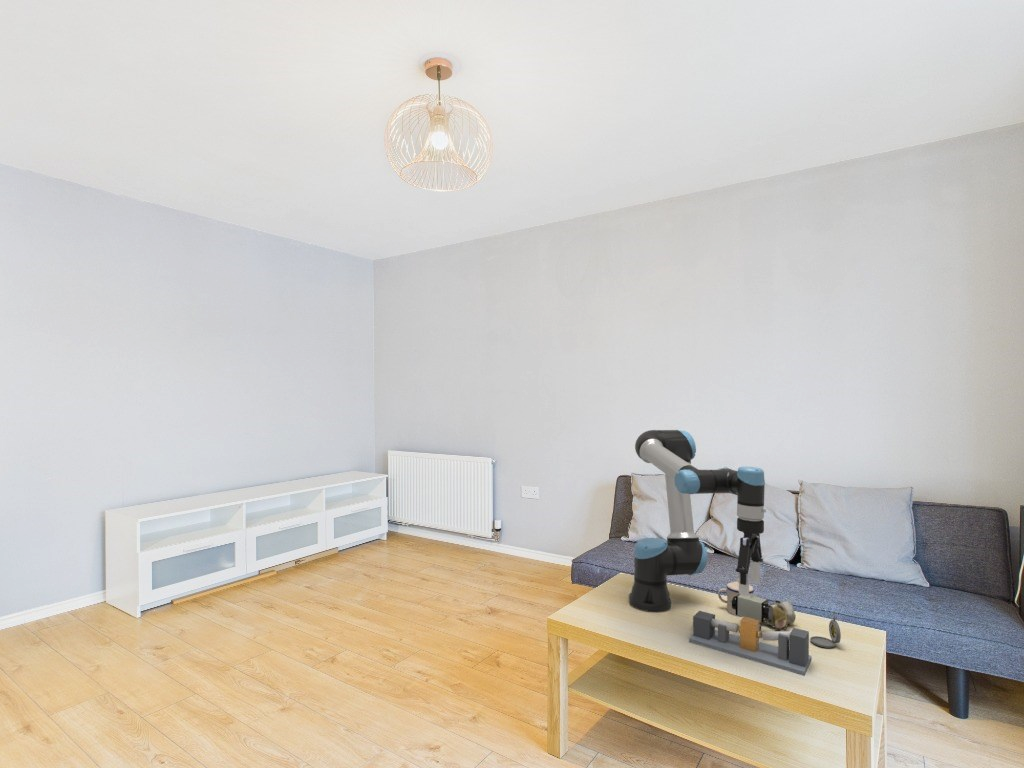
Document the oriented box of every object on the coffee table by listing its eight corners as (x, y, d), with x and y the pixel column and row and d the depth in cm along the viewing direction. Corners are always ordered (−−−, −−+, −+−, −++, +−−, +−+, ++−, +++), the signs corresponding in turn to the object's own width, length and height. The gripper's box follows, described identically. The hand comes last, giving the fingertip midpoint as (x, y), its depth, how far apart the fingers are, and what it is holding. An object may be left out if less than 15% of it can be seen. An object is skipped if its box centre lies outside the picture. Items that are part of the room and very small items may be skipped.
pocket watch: (805, 641, 170) (805, 609, 170) (823, 637, 173) (823, 605, 173) (829, 652, 162) (829, 619, 162) (848, 648, 165) (848, 615, 166)
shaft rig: (688, 641, 167) (689, 612, 168) (701, 629, 177) (701, 601, 177) (804, 675, 148) (804, 642, 148) (811, 659, 158) (811, 628, 158)
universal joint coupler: (761, 647, 162) (761, 620, 163) (758, 652, 159) (758, 625, 159) (741, 642, 166) (741, 615, 166) (737, 647, 162) (737, 620, 163)
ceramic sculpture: (804, 600, 181) (778, 611, 173) (805, 626, 181) (779, 638, 173) (774, 591, 190) (748, 601, 182) (775, 615, 190) (749, 626, 182)
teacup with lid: (754, 610, 194) (755, 578, 194) (752, 619, 186) (753, 585, 186) (719, 603, 200) (720, 572, 200) (716, 612, 192) (716, 579, 192)
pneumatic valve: (767, 639, 170) (768, 601, 171) (731, 627, 179) (731, 591, 179) (774, 634, 174) (774, 597, 175) (737, 623, 182) (738, 587, 183)
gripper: (753, 527, 151) (752, 603, 151) (772, 513, 171) (771, 580, 171) (726, 523, 156) (725, 597, 155) (747, 510, 176) (746, 575, 175)
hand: (749, 588), depth 163 cm, fingers open, 13 cm apart
